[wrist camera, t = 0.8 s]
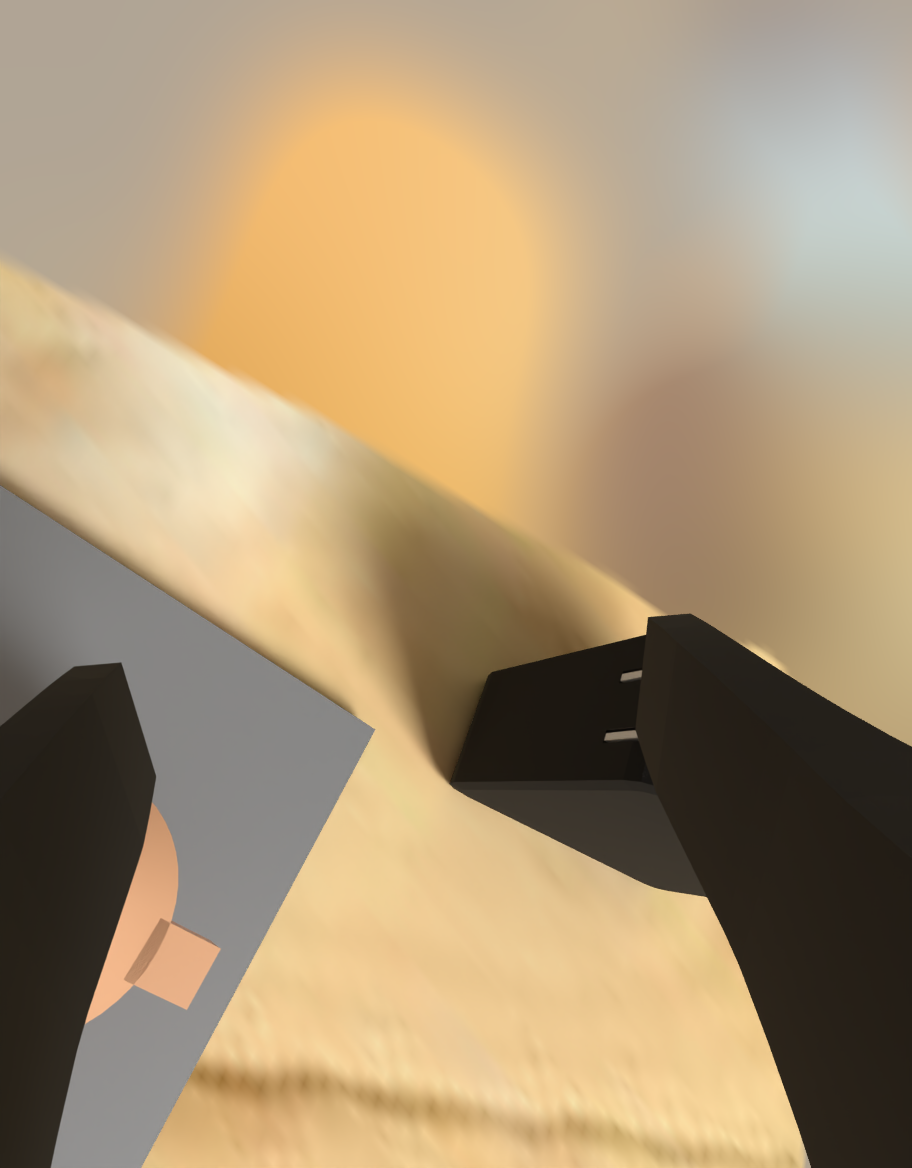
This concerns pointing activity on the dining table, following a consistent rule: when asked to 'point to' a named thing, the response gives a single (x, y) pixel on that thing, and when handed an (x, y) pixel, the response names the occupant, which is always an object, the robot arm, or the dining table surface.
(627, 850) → the electronic device
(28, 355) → the dining table surface
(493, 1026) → the dining table surface
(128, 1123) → the board
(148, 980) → the cap
